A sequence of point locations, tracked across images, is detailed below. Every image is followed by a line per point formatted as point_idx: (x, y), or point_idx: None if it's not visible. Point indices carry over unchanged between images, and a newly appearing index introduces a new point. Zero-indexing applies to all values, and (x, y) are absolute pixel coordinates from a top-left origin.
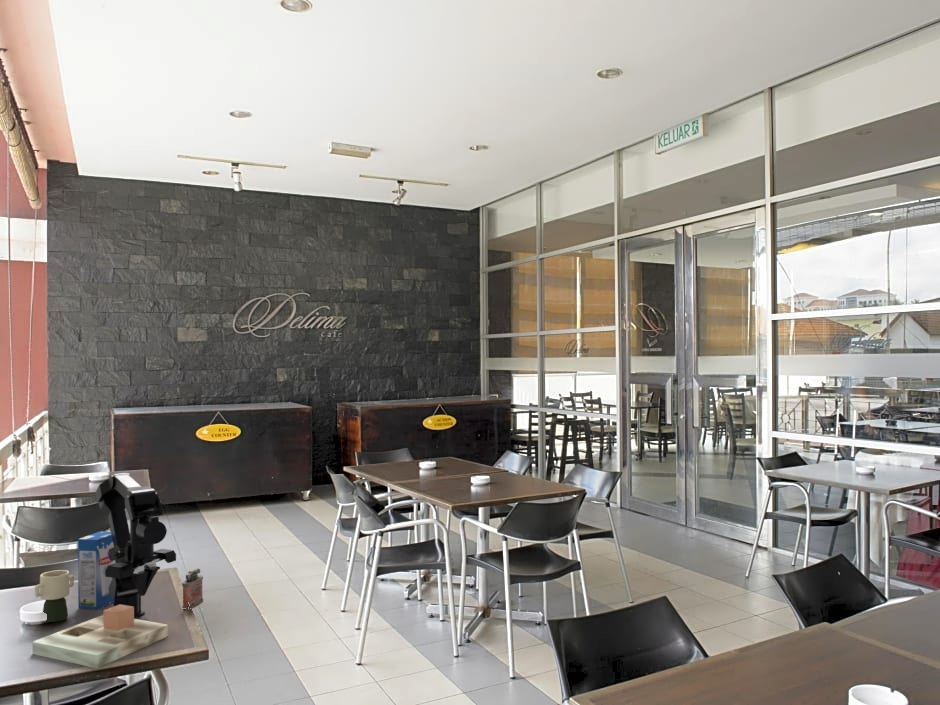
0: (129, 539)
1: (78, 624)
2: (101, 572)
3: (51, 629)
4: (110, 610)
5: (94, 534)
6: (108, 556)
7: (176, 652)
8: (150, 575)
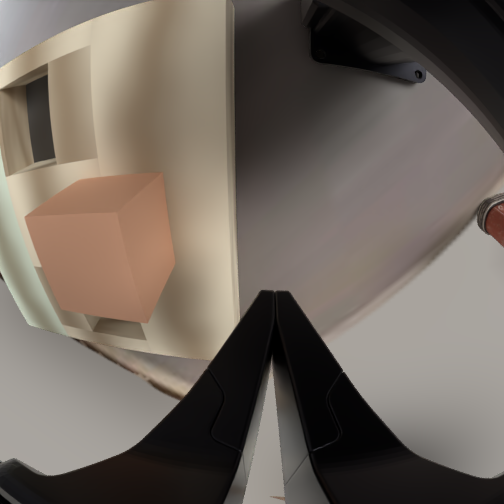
0: None
1: (61, 34)
2: None
3: None
4: (44, 254)
5: None
6: None
7: (178, 385)
8: (285, 500)
